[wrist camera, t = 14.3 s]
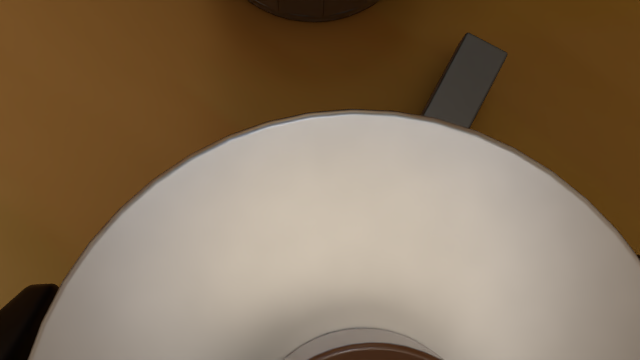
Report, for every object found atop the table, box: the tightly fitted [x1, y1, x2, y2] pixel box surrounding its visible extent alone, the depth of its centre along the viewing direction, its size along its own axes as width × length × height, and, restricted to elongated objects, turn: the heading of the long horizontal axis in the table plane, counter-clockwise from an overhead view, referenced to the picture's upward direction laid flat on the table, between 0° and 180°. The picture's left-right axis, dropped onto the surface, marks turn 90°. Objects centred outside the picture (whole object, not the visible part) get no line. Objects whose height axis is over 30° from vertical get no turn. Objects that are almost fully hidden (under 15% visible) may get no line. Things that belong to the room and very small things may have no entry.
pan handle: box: [421, 33, 507, 128], centre depth 14 cm, size 6×1×1 cm, turn 151°
